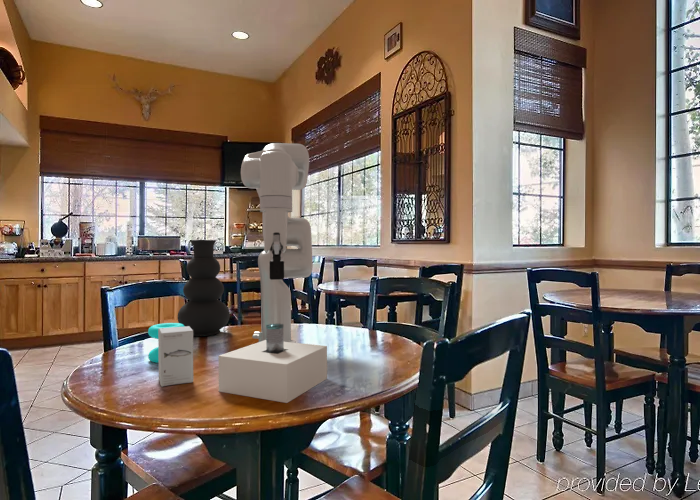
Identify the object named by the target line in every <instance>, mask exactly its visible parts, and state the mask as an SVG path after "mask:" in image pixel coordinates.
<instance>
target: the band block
mask: <svg viewBox="0 0 700 500" xmlns="http://www.w3.org/2000/svg"><path fill="white" fill-rule="evenodd" d="M217 358H218V392H220V393H226V394H231V395H232V394H233V395H237V396H243V397H250V398H255V399H262V400H267V401H273V402H278V403H279V402H280V403H285V404H287V403H289V402H292V401H293V400H294V399H296V398H298V397H299V396H301V395H303V394H304V393H306V392H307V391H309V390H311V389H313V388H315V386H317V385H319V384H320V383H322V382H324V381H326V380H328V345H321V344H310V343H301V342H300V343H299V342H296V343H292V342H284V352H281V353H279V354H274V353H266V340H264V341H261V342H259V341H258V342H256V343H252V344H250V345H246V346H244V347H240V348H238V349H235V350H232V351H229V352H226V353H223V354H219V355H218V357H217Z"/></svg>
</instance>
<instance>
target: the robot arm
mask: <svg viewBox="0 0 700 500" xmlns="http://www.w3.org/2000/svg"><path fill="white" fill-rule="evenodd" d="M240 167H241V168H240V179H241V182H242V183H243V185H244V187H246V188H248V189H256V192H257V195H258V198H259V212H260V213H262V239H263V243H264V244H263V245H264V246H263V247H264V248H263V251H261V252H260V254H259V255H258V258H257V265H258V273H259V280H260V296H261V297H260V300H261V301H260V304H261V305H260V307H261V309H260V313H261V314H260V315H261V318H260V320H261V325H260V326H261V327H260V328H261V330H260V331H254V332H253V334H252V339H255V340H256V339H258V342H261V341H264V340H266V325H268V324H283V325H284V342H292V343H297V342H296V340H294V339H292V293H291V290H290V287H288V285H287V284H286V283H285V282H284V280H285V279H302V278H308V277H310V276H311V274H312V272H313V265H314V264H313V262H314V261H313V260H314V259H313V245H312V244H313V241H312V240H313V239H312V228H311V225H310V221H309V220H308V219H306V218H304V217H289V213H293V191H295V190H296V191H299V190H300V191H301V190H303V189H304V188H306V186H307V184H308V177H309V169H310V154H309V151H308V149H307V147H306V146H305V145H303V144H301V143H287V142H285V143H283V142H282V143H281V142H272V143H269V144H267V145H265V146H264V148H263V149H262V150H260V151H256V152H251V153H247V154H246V155H244V158H243V160H242V163H241V166H240ZM287 247H296V248H287Z"/></svg>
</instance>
